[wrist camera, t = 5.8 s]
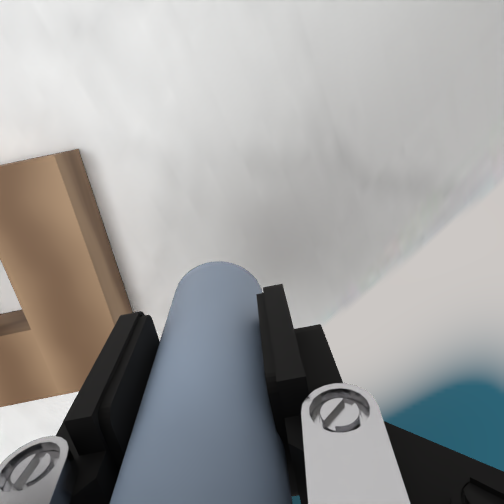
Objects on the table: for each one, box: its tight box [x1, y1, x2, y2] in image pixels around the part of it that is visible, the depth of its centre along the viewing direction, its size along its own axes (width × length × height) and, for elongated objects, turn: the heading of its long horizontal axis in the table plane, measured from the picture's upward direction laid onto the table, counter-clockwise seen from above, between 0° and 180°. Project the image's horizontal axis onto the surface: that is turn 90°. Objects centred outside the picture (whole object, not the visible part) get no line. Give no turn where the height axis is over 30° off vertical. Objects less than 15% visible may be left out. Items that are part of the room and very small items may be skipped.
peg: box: [110, 262, 292, 504], centre depth 9 cm, size 3×3×10 cm
